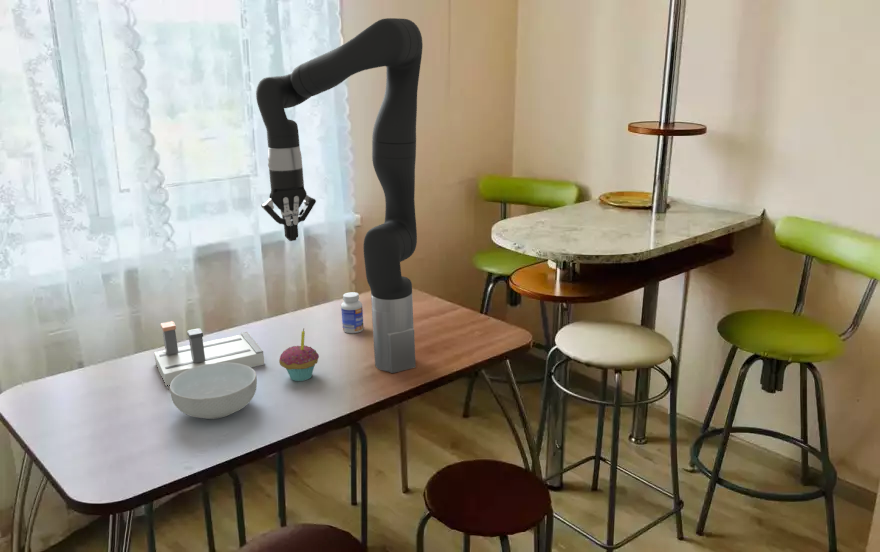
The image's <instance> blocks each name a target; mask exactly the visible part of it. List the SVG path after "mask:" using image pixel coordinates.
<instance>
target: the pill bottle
mask: <svg viewBox="0 0 880 552" xmlns="http://www.w3.org/2000/svg"><path fill="white" fill-rule="evenodd" d="M342 299H343V302H341V305H340V309H341V321H342V331H343V332H344V333H347V334H357V333H360V332H362V331H363V330H364V313H363V312H364V311H363V303H362V302H361V301H360V296H359V293H358V292H357V291H356V292H354V291H353V292H352V291H351V292H345V293H344V294H342Z"/></svg>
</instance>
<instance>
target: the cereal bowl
mask: <svg viewBox="0 0 880 552" xmlns="http://www.w3.org/2000/svg"><path fill="white" fill-rule="evenodd" d="M257 381H258V379H257V372H256V370H255V369H253V367H251V368H250V367H249V366H246V365H243V364H238V363H212V364H206V365H201V366H197V367H194V368H191V369H189V370H186V371H184V372H182V373H181V374H179V375H177V376H176V377H175V378H174V379H173V380H172V381H171V383H170V386H169V393H170V398H171V401H172V404H174V406H175V407H176V408H177V410H179V411H180V412H181V413H183V414H185V415H187V416H189V417H193V418H199V419H205V420H215V419H216V420H217V419H222V418H225V417H228V416H230V415H232V414H233V413H236V412H238V411H240V410H242V409H244V408H245V407H246V406H247V405H248V404H249V403H250V402H251V401H252V399H253V398H254V397H255V395H256V391H257V384H258V383H257Z"/></svg>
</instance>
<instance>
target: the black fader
mask: <svg viewBox="0 0 880 552" xmlns="http://www.w3.org/2000/svg"><path fill="white" fill-rule="evenodd" d="M186 334H187V336H188V339H189V345H190V349H191V356H192V360H193V362H194V363H199V362H204V361H205V354H204V346H203V342H204V339H203V337H204V332H203V331H202V329H201V328H200V327H197V328H193V329H188V330H186Z"/></svg>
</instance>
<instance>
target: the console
mask: <svg viewBox="0 0 880 552" xmlns="http://www.w3.org/2000/svg"><path fill="white" fill-rule="evenodd" d="M203 346H204V354H205V361H204V362H199V363H194V362H193V360H192V356H191V349H190V344H188V345H187V344H186V345H184V346H178V353H177V354H173V355H167V353H166V351H165V349H162V350H158V351H154V352H153V355H154V361H155V366H156V365H157V366H156V367H158V368H157V370H158V372H159V374H160V376H162V377H161V379H162V378H163V379H162V381H163V380H164V381H163V383H164V382H165V383H164V385H165V387H168V386H167V385H170V383H171V381H172V380H173V379H174V378H175V377H176V376H177V375H179V374H181V373H182V372H184V371H186V370H189V369H191V368H194V367H197V366H201V365H206V364H212V363H238V364H243V365H246V366H249V367H250V368H254V367H259V366H262V365H263V366H264V365H265V356H264V350H263V349H262V348H261V347H260V345H259V344H258V343H257V342H256V340H255V339H254V338H253V337H252V335H251V334H250V333H249V332H248V331H245V332H241V333H240V334H237V335H232V336H228V337H223V338H222V337H221V338H218V339H212V340H208V341H203Z"/></svg>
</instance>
